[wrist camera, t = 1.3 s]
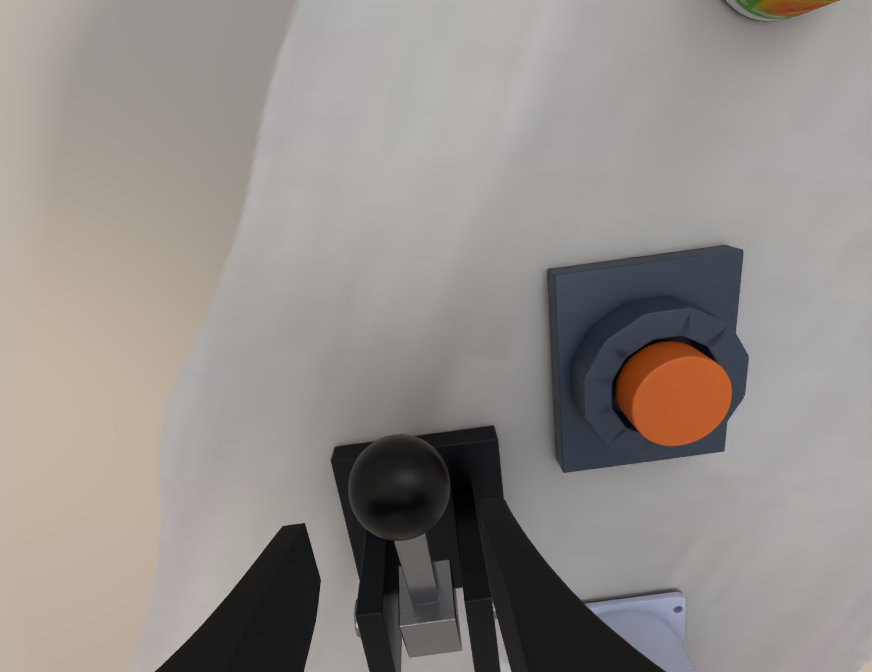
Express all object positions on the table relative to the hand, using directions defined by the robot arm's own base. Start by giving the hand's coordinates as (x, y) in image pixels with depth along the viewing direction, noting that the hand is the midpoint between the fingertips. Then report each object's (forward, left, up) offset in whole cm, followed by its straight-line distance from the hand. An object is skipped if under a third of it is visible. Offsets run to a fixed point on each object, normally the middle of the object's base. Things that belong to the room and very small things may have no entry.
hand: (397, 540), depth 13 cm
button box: (-1, -11, -10) cm, 15 cm away
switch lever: (-3, 0, -5) cm, 6 cm away
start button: (-1, -11, -8) cm, 14 cm away
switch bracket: (-8, 0, -10) cm, 13 cm away
